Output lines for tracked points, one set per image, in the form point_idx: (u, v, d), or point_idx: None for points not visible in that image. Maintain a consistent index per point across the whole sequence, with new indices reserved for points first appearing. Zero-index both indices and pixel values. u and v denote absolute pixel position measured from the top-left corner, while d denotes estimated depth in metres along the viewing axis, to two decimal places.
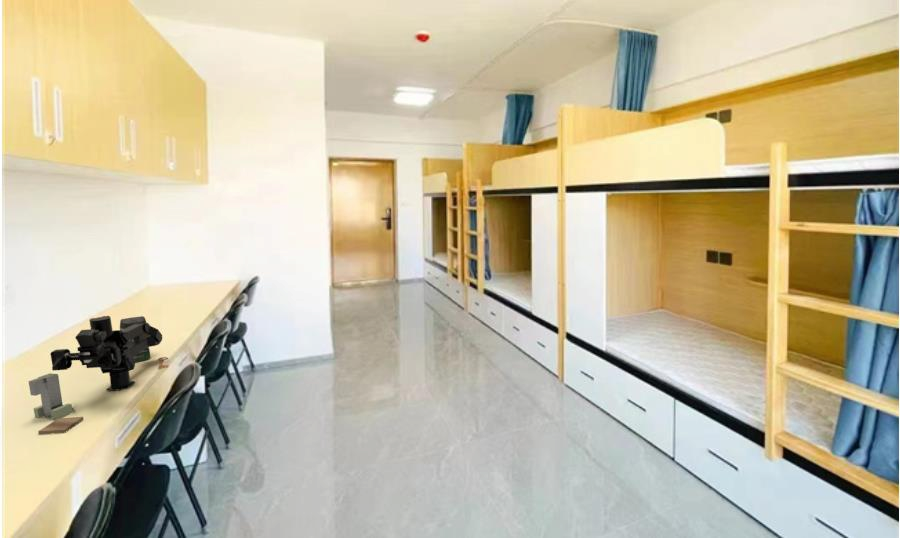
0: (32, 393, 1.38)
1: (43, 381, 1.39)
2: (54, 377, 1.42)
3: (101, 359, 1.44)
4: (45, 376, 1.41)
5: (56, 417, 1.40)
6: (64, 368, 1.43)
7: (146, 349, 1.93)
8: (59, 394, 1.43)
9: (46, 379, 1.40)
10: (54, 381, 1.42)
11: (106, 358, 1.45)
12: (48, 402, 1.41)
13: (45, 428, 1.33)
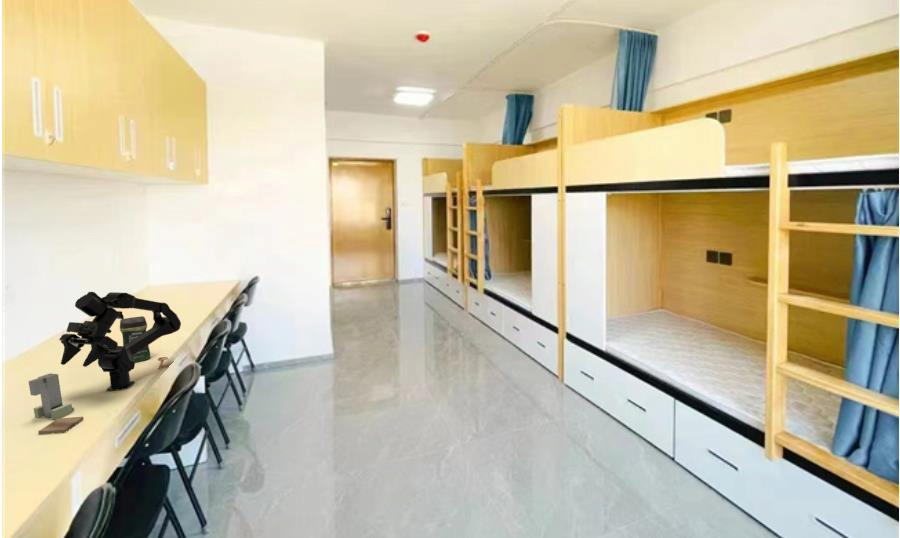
0: (32, 393, 1.38)
1: (43, 381, 1.39)
2: (54, 377, 1.42)
3: (97, 351, 1.50)
4: (45, 376, 1.41)
5: (56, 417, 1.40)
6: (77, 352, 1.55)
7: (146, 349, 1.93)
8: (59, 394, 1.43)
9: (46, 379, 1.40)
10: (54, 381, 1.42)
11: (101, 348, 1.51)
12: (48, 402, 1.41)
13: (45, 428, 1.33)
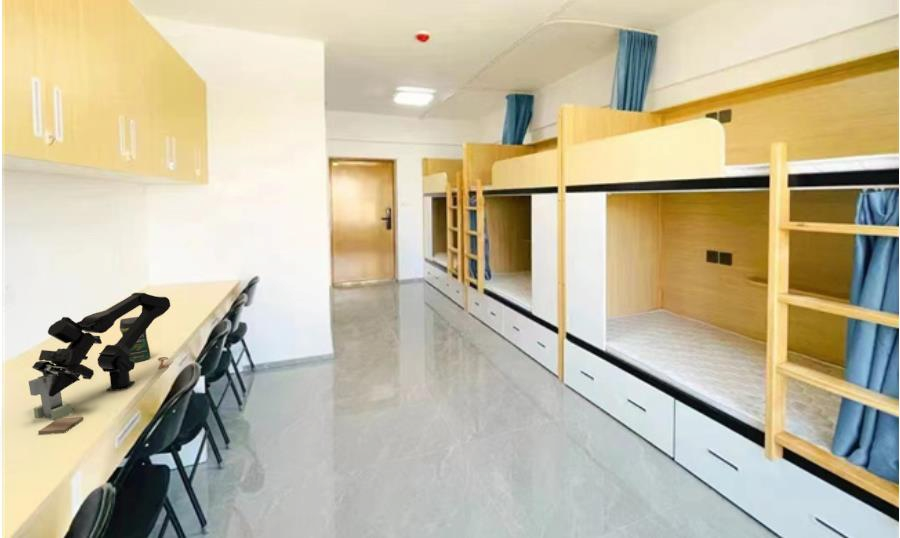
0: (32, 393, 1.38)
1: (43, 381, 1.39)
2: (54, 377, 1.42)
3: (64, 379, 1.43)
4: (45, 376, 1.41)
5: (56, 417, 1.40)
6: None
7: (146, 349, 1.93)
8: (59, 394, 1.43)
9: (46, 379, 1.40)
10: (54, 381, 1.42)
11: (69, 377, 1.44)
12: (48, 402, 1.41)
13: (45, 428, 1.33)
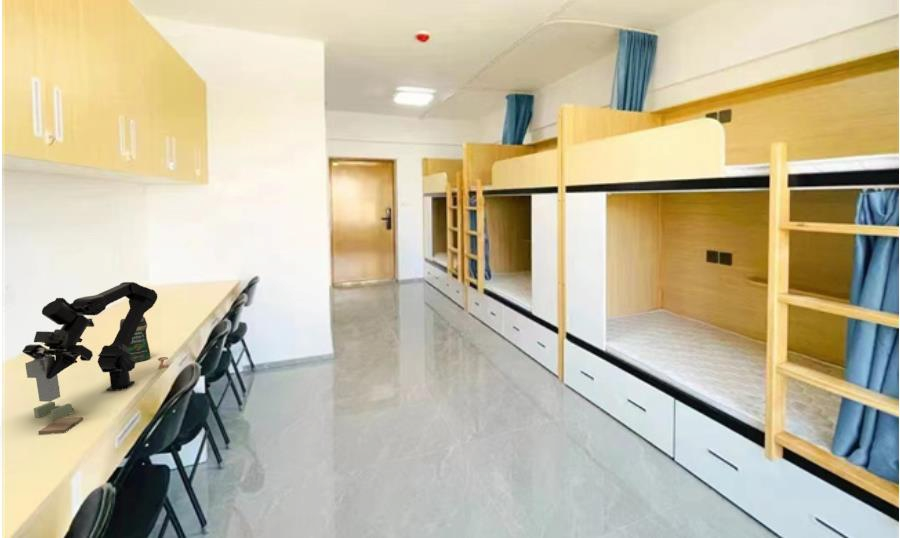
0: (29, 375, 1.33)
1: (40, 363, 1.35)
2: (51, 359, 1.37)
3: (61, 361, 1.39)
4: (41, 358, 1.36)
5: (56, 417, 1.40)
6: None
7: (146, 349, 1.93)
8: (56, 377, 1.39)
9: (43, 361, 1.35)
10: (51, 363, 1.37)
11: (66, 358, 1.40)
12: (45, 385, 1.36)
13: (45, 428, 1.33)
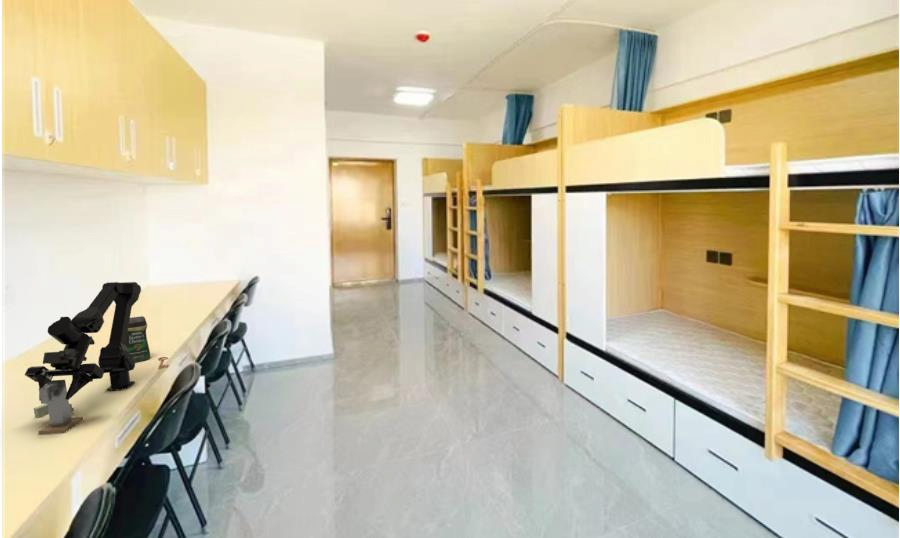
0: (44, 401, 1.29)
1: (53, 388, 1.32)
2: (62, 383, 1.34)
3: (78, 381, 1.37)
4: (52, 383, 1.33)
5: None
6: None
7: (146, 349, 1.93)
8: (67, 400, 1.36)
9: (56, 385, 1.32)
10: (63, 387, 1.34)
11: (83, 378, 1.37)
12: (59, 409, 1.33)
13: (45, 428, 1.33)
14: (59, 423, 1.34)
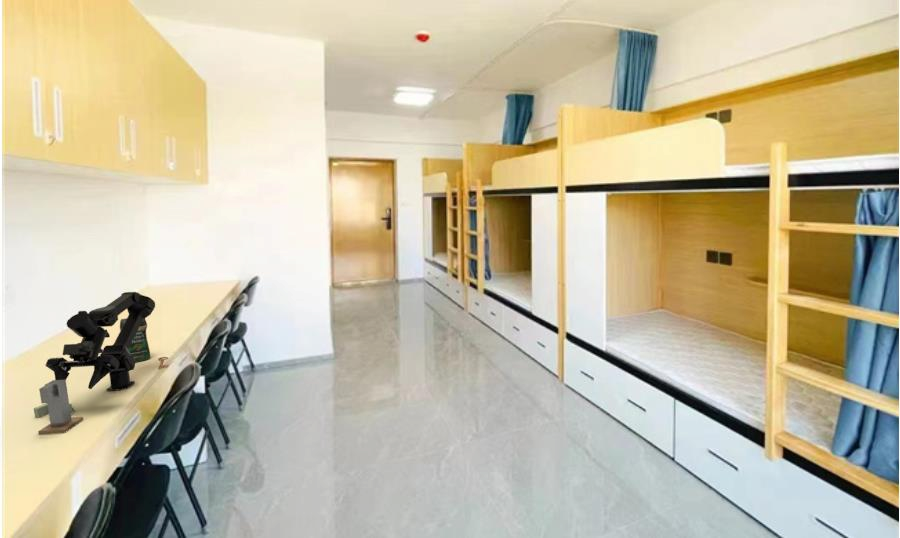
0: (44, 401, 1.29)
1: (54, 387, 1.32)
2: (63, 382, 1.34)
3: (99, 371, 1.45)
4: (53, 382, 1.33)
5: None
6: (66, 376, 1.45)
7: (146, 349, 1.93)
8: (67, 400, 1.36)
9: (57, 385, 1.32)
10: (63, 387, 1.34)
11: (104, 368, 1.45)
12: (59, 409, 1.33)
13: (45, 428, 1.33)
14: (59, 423, 1.34)
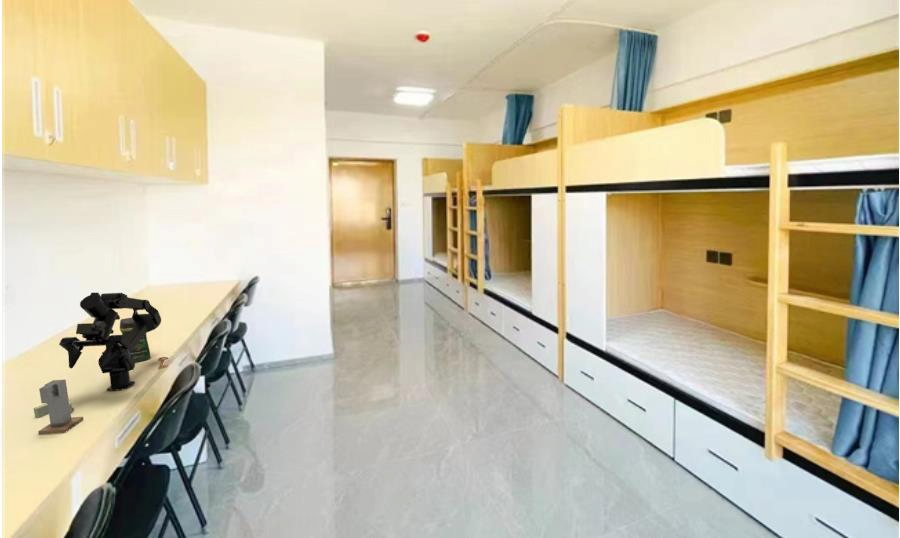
0: (44, 401, 1.29)
1: (54, 387, 1.32)
2: (63, 382, 1.34)
3: (111, 350, 1.51)
4: (53, 382, 1.33)
5: None
6: (79, 355, 1.51)
7: (146, 349, 1.93)
8: (67, 400, 1.36)
9: (57, 385, 1.32)
10: (63, 387, 1.34)
11: (115, 347, 1.52)
12: (59, 409, 1.33)
13: (45, 428, 1.33)
14: (59, 423, 1.34)
